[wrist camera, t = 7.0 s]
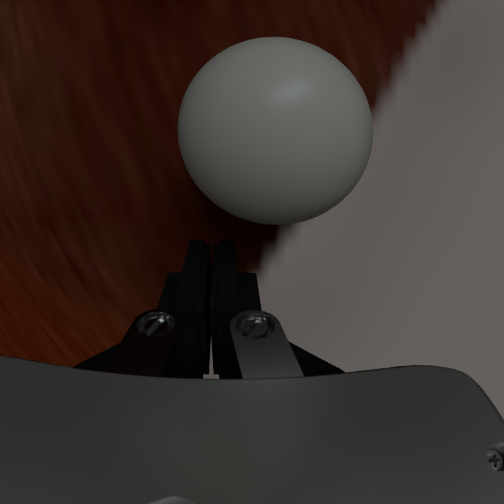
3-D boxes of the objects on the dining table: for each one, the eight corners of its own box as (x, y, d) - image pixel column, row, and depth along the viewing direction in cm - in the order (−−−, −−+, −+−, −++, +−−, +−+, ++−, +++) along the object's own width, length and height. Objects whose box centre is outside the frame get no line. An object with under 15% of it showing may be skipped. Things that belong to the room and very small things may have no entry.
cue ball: (383, 9, 4) (268, 7, 8) (141, 162, 5) (133, 98, 8) (423, 186, 8) (327, 120, 12) (280, 295, 9) (222, 196, 12)
